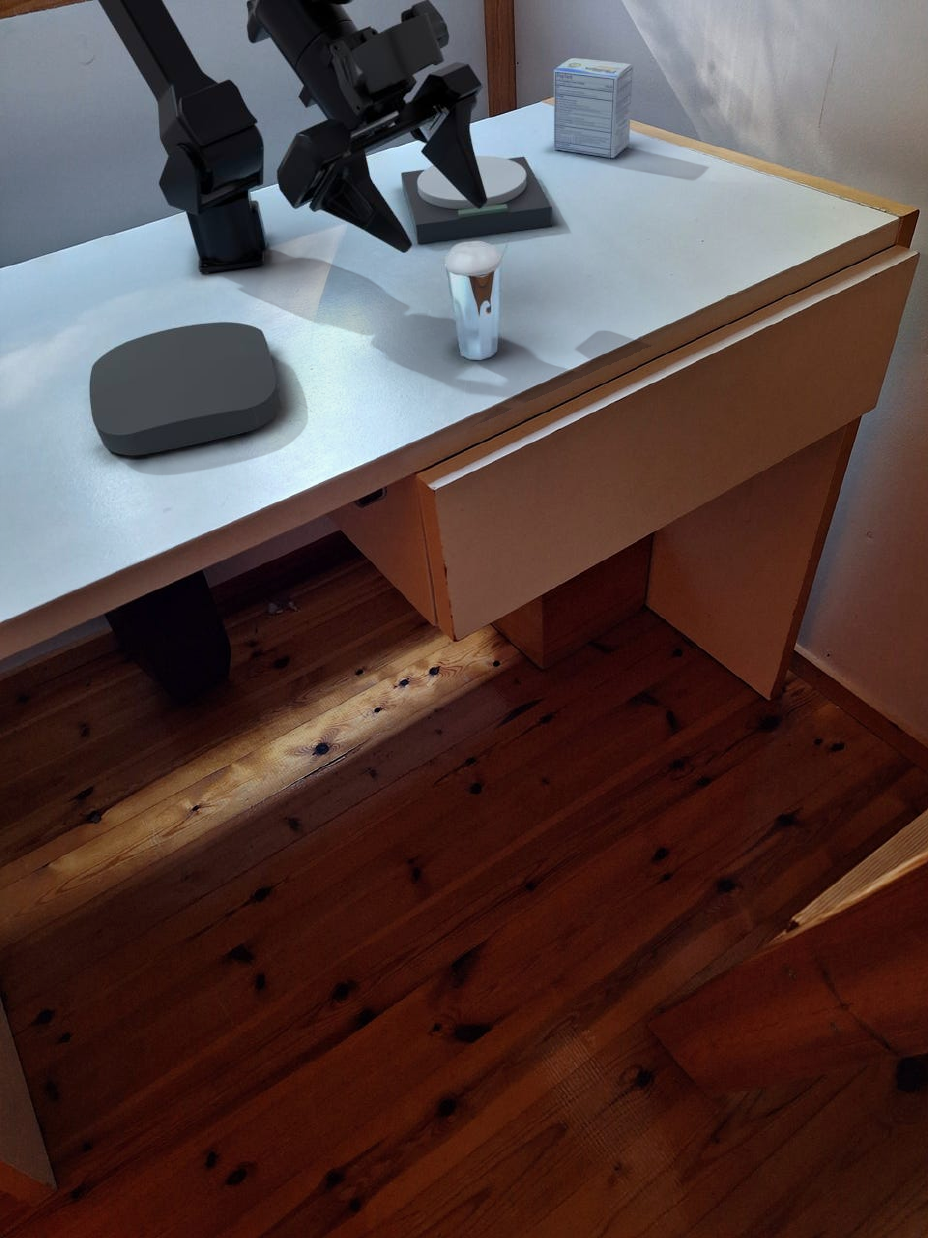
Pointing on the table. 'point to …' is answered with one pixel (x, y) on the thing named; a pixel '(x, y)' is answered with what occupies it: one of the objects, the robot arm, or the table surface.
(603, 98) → the medicine box
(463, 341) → the milkshake
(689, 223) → the table surface
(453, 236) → the scale
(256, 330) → the media streaming box
